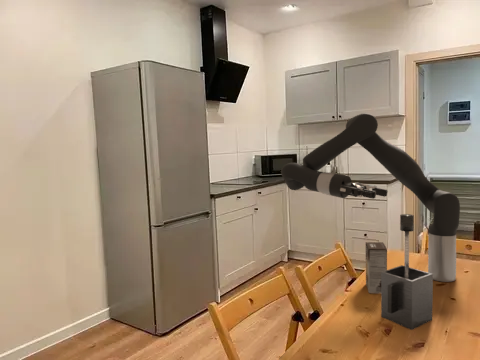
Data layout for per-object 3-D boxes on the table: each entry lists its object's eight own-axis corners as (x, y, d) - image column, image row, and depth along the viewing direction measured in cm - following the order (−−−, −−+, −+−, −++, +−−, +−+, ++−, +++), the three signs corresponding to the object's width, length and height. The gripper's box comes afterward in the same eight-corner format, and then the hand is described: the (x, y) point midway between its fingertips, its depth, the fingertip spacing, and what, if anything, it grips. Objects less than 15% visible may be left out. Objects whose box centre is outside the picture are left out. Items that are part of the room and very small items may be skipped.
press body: (401, 308, 119) (401, 265, 117) (432, 320, 110) (432, 273, 109) (374, 319, 112) (374, 274, 110) (405, 333, 103) (405, 284, 102)
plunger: (402, 279, 116) (402, 211, 114) (427, 286, 109) (428, 215, 108) (385, 285, 112) (385, 215, 110) (411, 293, 105) (411, 219, 103)
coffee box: (365, 283, 140) (364, 241, 139) (383, 284, 139) (383, 241, 137) (368, 293, 131) (368, 248, 130) (387, 294, 130) (387, 248, 128)
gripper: (324, 174, 119) (373, 183, 108) (345, 173, 130) (392, 181, 119) (321, 197, 120) (369, 208, 110) (342, 194, 131) (388, 204, 120)
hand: (381, 194), depth 114 cm, fingers open, 8 cm apart
